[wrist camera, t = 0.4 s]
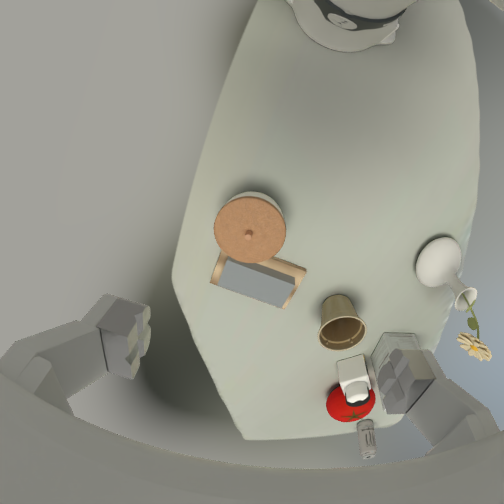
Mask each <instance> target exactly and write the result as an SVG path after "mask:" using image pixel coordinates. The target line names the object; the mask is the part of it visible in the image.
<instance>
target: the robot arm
mask: <svg viewBox="0 0 504 504" xmlns="http://www.w3.org/2000/svg"><path fill="white" fill-rule="evenodd" d="M416 1H417V0H286V2H287V3H288V4H289V5H290V6H291V7H292V8H293V10H294V13H295V16H296V19H297V21H298V23H299V25H300V27H301V28H302V30H303V31H304V32H305V33H306V34H307V35H308V36H309V37H310V38H311V39H313V40H314V41H316V42H317V43H319V44H320V45H322V46H325V47H327V48H329V49H332V50H336V51H341V52H357V51H362V50H365V49H367V48H369V47H371V46H374V45H388V44H391V43H393V42H394V40H395V34H396V30H397V29H398V28H399V26H400V25H399V24H398V21H399V18H400V17H401V16H402V14H403V13H404V12H405V10H406V8H407V7H408V6H410V5H411V4H413V3H414V2H416ZM489 1H490V2H491V3H493V4H494V5H496V6H497V7H498V8H499V9H501V10H502V11H503V12H504V0H489ZM149 319H150V307H149V306H147V305H144V304H140V303H137V302H133V301H130V300H127V299H124V298H119V297H117V296H114V295H110V294H104V295H103V296H102V297H101V298H100V299H99V300H98V301H97V303H96V304H95V305H94V306H93V307H92V308H91V310H90V311H89V312H88V313H87V314H86V315H85V316H84V318H83V319H82V320H81V321H77V320H75V321H73V322H70V323H67V324H64V325H61V326H58V327H56V328H53V329H50V330H47V331H44V332H41V333H39V334H35V335H33V336H30V337H27V338H24V339H21V340H18V341H15V343H14V344H13V345H12V346H11V347H10V348H9V350H7V352H6V353H5V354H4V355H3V356H2V357H1V359H0V504H504V430H503V431H501V432H500V430H499V428H498V426H497V424H496V422H495V420H494V418H493V416H492V414H491V412H490V410H489V409H488V408H487V407H485V406H484V405H483V404H482V403H480V402H479V401H477V400H476V399H475V398H474V397H473V396H471V395H470V394H469V393H467V392H466V391H465V390H464V389H462V388H461V387H460V386H458V385H457V384H456V383H454V382H453V381H452V380H451V379H447V378H446V376H445V374H444V373H443V371H442V369H441V367H440V366H439V364H438V362H437V360H436V359H435V357H434V355H433V354H432V352H431V351H430V350H428V349H417V350H415V349H398V348H396V349H394V350H393V351H392V352H391V354H390V355H389V362H388V363H386V364H385V365H383V366H382V368H381V370H380V371H379V374H378V379H377V383H378V388H379V391H380V392H381V393H383V394H384V398H383V403H384V406H385V409H386V412H387V414H406V416H407V417H408V418H409V419H410V420H411V421H412V423H413V424H414V425H415V426H416V427H417V428H418V429H419V431H420V432H421V433H422V434H423V435H424V436H425V438H426V439H427V440H428V441H429V442H430V443H431V445H432V446H433V448H432V449H431V450H429V451H428V452H427V453H426V455H425V456H424V457H419V458H415V459H410V460H404V461H399V462H392V463H386V464H379V465H371V466H362V467H349V468H332V469H289V468H271V467H258V466H248V465H240V464H233V463H226V462H220V461H214V460H209V459H203V458H198V457H194V456H189V455H185V454H180V453H176V452H172V451H169V450H165V449H161V448H158V447H154V446H151V445H148V444H144V443H141V442H138V441H135V440H132V439H129V438H126V437H124V436H121V435H118V434H115V433H113V432H110V431H108V430H105V429H103V428H100V427H98V426H95V425H93V424H90V423H88V422H86V421H84V420H82V419H80V418H77V417H75V416H74V414H73V411H72V409H71V407H70V406H69V403H68V401H67V398H69V397H71V396H72V395H74V394H75V393H77V392H79V391H80V390H82V389H84V388H85V387H87V386H88V385H90V384H92V383H93V382H95V381H97V380H98V379H100V378H101V377H103V376H104V375H106V374H108V372H110V373H113V374H116V375H119V376H122V377H125V378H128V379H133V378H134V376H135V374H136V372H137V370H138V367H139V366H140V361H139V358H140V357H142V356H144V355H145V353H146V351H147V349H148V345H149V341H150V335H151V328H150V326H149V325H148V323H147V322H148V320H149Z"/></svg>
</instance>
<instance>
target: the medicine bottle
mask: <svg viewBox="0 0 504 504" xmlns="http://www.w3.org/2000/svg"><path fill="white" fill-rule="evenodd" d="M337 367H338V375H339V383H340V385H341V388H342V390H343V393H344V395H345V400H346V404H347V405H348V406H350V407H359V406H362V405H364V404H366V403H367V402H369V400H370V398H371V397H370V392H369V390H370V389H371V384H370V379H369V374H368V370H367V365H366V361H365V357H364V355H363V354H361V355H358V356H355V357H351V358H348V359H344V360H341V361H338V362H337Z"/></svg>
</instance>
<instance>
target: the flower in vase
mask: <svg viewBox="0 0 504 504" xmlns="http://www.w3.org/2000/svg"><path fill="white" fill-rule="evenodd" d="M461 258H462V254H461V249H460V246H459V244H458V243H457V242H456V241H455V240H454V239H452V238H448V237H443V238H438V239H435V240H433V241H432V242H430V243H429V244H428V245H426V247H425V248H424V249H423V250H422V252H421V253H420V255H419V257H418V260H417V263H416V276H417V278H418V280H419V281H420V282H421V283H422V284H424V285H426V286H428V287H438V286H441V285H444V284H446V283H448V284H449V286H450V287H451V289H452V291H453V293H454V295H455V308H456V310H458V311H463V310H466V309H467V308H468V309H467V311H466V312H468V311H469V310H471V312H472V314H473V316H474V318H472V317H471V318H468V326H469V327H470V328H471V329H472V330H475V329H477V338H476V337H474V336H472V335H471V334H467V333H463V332H460V334H459V335H458V336H459V337H458V338H457V340H458V341H459V342H462V343H464V344H461V345H460V347H461V348H464V349H465V350H466V351H468V354H469V355H470V356H473V355H474V356H475V357H476V358H478V359H479V360H480V361H482V358H483V359H486V360H487V361H489V359H490V358H491V357H492V355H491V352H490V350H489V349H488V347H487V346H486V345H484V343H483V342H482V341H480V340H479V326H478V322H477V319H476V317H475V315H474V312H473V310H472V306H473V305H474V303H475V300H476V297H477V290H476V289H475V288H473V287H467V286H465V285H464V284H463V283H462V282H461V281H460V280H459V279H458V277H457V276H456V273H457V271H458V269H459V267H460V264H461Z"/></svg>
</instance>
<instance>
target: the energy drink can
mask: <svg viewBox="0 0 504 504" xmlns="http://www.w3.org/2000/svg"><path fill="white" fill-rule="evenodd" d="M357 431H358V440H359V450H360V455H361V457H362V459H369V458H373V457H375V454H376V451H377V449H376V441H375V434H374V427H373V422H372V421H371V420H369V419H366V420H362V421H360V422H359V423H358V425H357Z"/></svg>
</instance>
